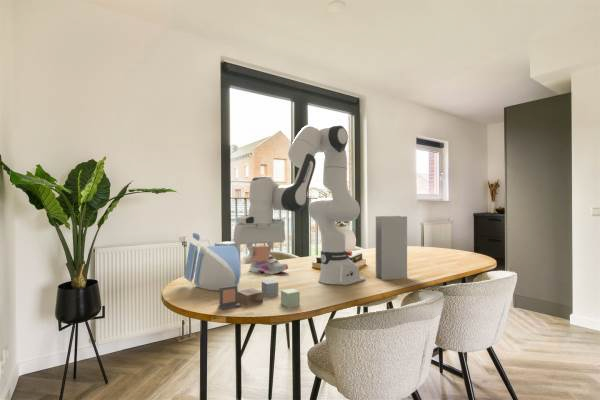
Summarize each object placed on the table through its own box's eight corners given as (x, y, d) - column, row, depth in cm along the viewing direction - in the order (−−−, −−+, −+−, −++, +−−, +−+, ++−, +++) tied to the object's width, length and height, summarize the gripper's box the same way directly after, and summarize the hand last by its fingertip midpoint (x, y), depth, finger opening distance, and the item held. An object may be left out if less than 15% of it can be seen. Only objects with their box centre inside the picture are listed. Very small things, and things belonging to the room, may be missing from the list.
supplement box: (241, 275, 170) (241, 242, 170) (228, 279, 162) (228, 244, 162) (227, 273, 175) (227, 240, 175) (214, 276, 168) (214, 242, 167)
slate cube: (272, 291, 140) (272, 279, 140) (278, 294, 136) (278, 282, 136) (261, 293, 138) (261, 281, 137) (267, 296, 133) (267, 284, 133)
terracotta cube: (263, 258, 131) (263, 245, 131) (269, 260, 126) (269, 246, 126) (251, 259, 128) (251, 246, 128) (256, 261, 124) (257, 247, 124)
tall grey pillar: (400, 275, 170) (400, 215, 169) (407, 277, 164) (407, 216, 164) (375, 277, 165) (375, 216, 165) (381, 280, 160) (381, 216, 160)
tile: (236, 304, 123) (236, 284, 123) (239, 306, 121) (239, 286, 121) (218, 307, 119) (218, 287, 119) (220, 310, 117) (220, 289, 117)
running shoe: (284, 275, 170) (284, 256, 170) (245, 272, 177) (245, 254, 177) (290, 272, 178) (290, 253, 178) (253, 269, 186) (253, 251, 186)
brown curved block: (253, 298, 132) (253, 288, 132) (263, 302, 126) (263, 291, 126) (237, 301, 127) (237, 291, 127) (246, 306, 122) (246, 295, 122)
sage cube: (292, 301, 127) (292, 288, 127) (299, 305, 122) (299, 291, 122) (280, 304, 124) (280, 290, 124) (287, 307, 120) (287, 293, 120)
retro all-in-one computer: (191, 230, 147) (223, 227, 159) (183, 278, 151) (215, 272, 164) (226, 252, 131) (258, 247, 144) (216, 306, 136) (248, 296, 148)
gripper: (280, 218, 136) (279, 252, 135) (232, 218, 125) (231, 255, 124) (288, 218, 130) (287, 254, 130) (239, 219, 119) (238, 258, 119)
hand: (259, 255), depth 127 cm, fingers closed on terracotta cube, 5 cm apart
